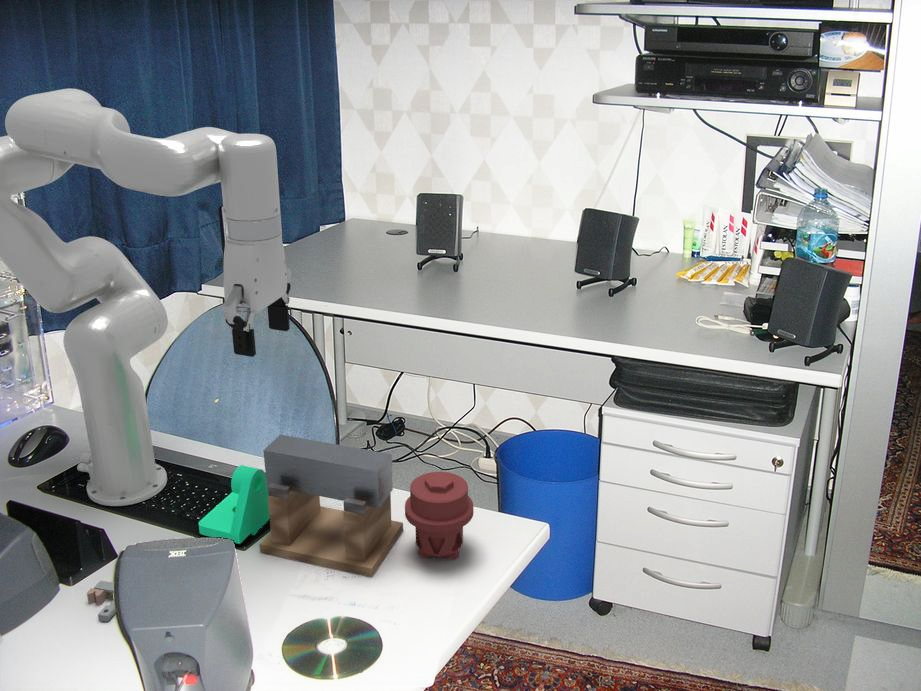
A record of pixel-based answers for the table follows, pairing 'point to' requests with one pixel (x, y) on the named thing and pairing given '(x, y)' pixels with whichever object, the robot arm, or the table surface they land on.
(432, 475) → the mechanical component
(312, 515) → the rack
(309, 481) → the matte grey brick
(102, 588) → the clamp
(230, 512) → the camera mount
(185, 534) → the table surface
